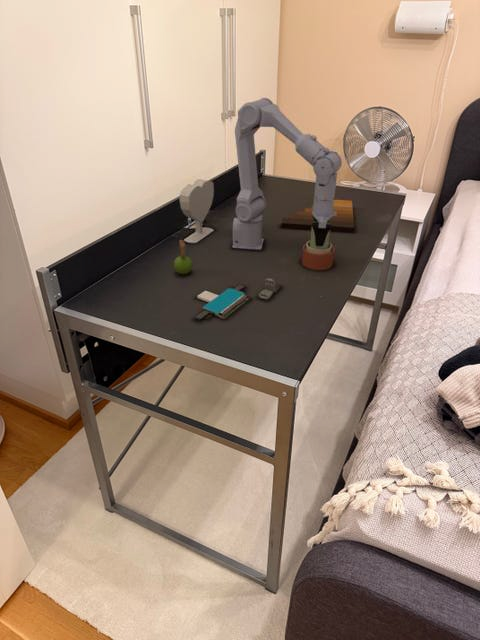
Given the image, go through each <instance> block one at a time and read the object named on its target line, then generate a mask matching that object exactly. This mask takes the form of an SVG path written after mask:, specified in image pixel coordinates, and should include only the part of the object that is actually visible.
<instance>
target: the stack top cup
mask: <svg viewBox="0 0 480 640" xmlns="http://www.w3.org/2000/svg"><path fill="white" fill-rule="evenodd" d="M305 244H306V251H308V252H310V253H313V254H329V253H331V250H332V246H333V244H332V243H331V242H330V241H329V245H328V248H327V249H322V250H321V249H314V248H311V247H310V240H308V241H307V242H306V243H305Z"/></svg>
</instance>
